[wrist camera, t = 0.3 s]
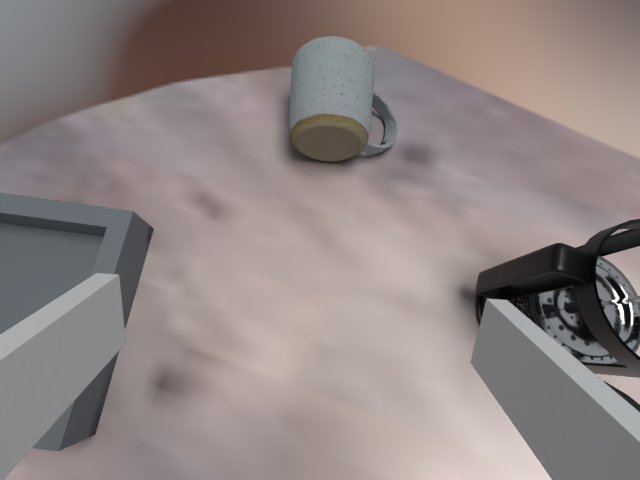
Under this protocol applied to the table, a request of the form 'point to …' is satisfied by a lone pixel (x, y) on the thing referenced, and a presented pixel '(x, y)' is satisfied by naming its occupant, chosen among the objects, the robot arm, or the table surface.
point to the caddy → (66, 278)
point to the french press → (577, 298)
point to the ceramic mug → (336, 101)
